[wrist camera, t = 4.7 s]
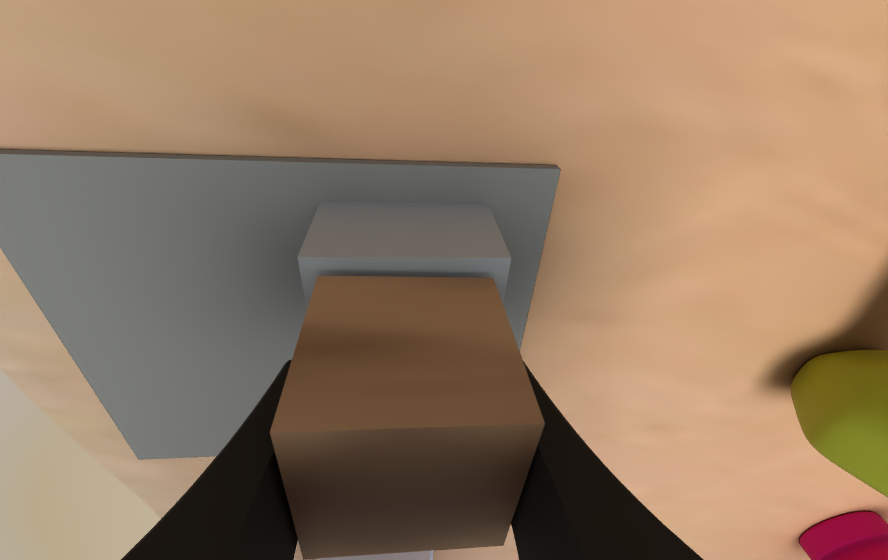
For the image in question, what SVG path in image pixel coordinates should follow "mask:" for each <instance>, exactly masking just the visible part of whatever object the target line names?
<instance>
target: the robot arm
mask: <svg viewBox="0 0 888 560" xmlns="http://www.w3.org/2000/svg"><path fill="white" fill-rule="evenodd" d="M291 361H292V360H288V361H287V362H286V363H285V364H284V366H283V367H282V369H281V370H280V372H279V373H278V375H277V376H276V378H275V379H274V381H273V382H272V384H271V385H270V387H269V388H268V390H267V391H266V392H265V394H264V395H263V397H262V398H261V399H260V401H259V402H258V404H257V405H256V406H255V408H254V409H253V411H252V412H251V413H250V415H249V416H248V417H247V418H246V420H245V421H244V422H243V424H242V425H241V426H240V428H239V429H238V430H237V432H236V433H235V434H234V436H233V437H232V438H231V439H230V441H229V442H228V443H227V444H226V446H225V447H224V448H223V449H222V451H221V452H220V453H219V454H218V455H217V457H216V458H215V459H214V460H213V461H212V463H211V464H210V465H209V466H208V467H207V469H206V470H205V471H204V472H203V473H202V475H201V476H200V477H199V478H198V479H197V480H196V482H195V483H194V484H193V485H192V486H191V487H190V488H189V489H188V491H187V492H186V493H185V494H184V495H183V496H182V497H181V498H180V499H179V501H178V502H177V503H176V504H175V505H174V506H173V507H172V508H171V509H170V510H169V511H168V512H167V513H166V514H165V516H164V517H163V518H162V519H161V520H160V521H159V522H158V523H157V524H156V525H155V526H154V527H153V528H152V529H151V530H150V531H149V532H148V533H147V534H146V535H145V536H144V537H143V538H142V539H141V540H140V541H139V542H138V543H137V544H136V545H135V546H134V547H133V548H132V549H131V550H130V551H129V552H128V553H127V554H126V555H125V556H124V557H123V558H122V559H121V560H293V559H294V554H295V549H296V545H297V541H298V537H297V533H296V530H295V526H294V522H293V518H292V515H291V511H290V507H289V503H288V500H287V496H286V492H285V488H284V484H283V481H282V477H281V473H280V469H279V466H278V462H277V458H276V454H275V451H274V447H273V443H272V439H271V435H270V430H271V427H272V424H273V420H274V417H275V414H276V411H277V407H278V404H279V401H280V397H281V394H282V391H283V387H284V384H285V381H286V378H287V374H288V371H289V368H290V364H291ZM523 363H524V361H523ZM524 366H525V368H526V371H527V374H528V377H529V380H530V383H531V385H532V388H533V391H534V394H535V397H536V400H537V403H538V405H539V408H540V411H541V414H542V417H543V420H544V422H545V425H544V428H543V431H542V434H541V437H540V439H539V442H538V445H537V448H536V451H535V454H534V457H533V460H532V463H531V466H530V469H529V472H528V475H527V478H526V480H525V483H524V486H523V489H522V492H521V495H520V498H519V501H518V504H517V507H516V510H515V513H514V516H513V518H512V521H511V525H512V529H513V533H514V537H515V542H516V546H517V551H518V556H519V560H703V559H702V558H701V557H700V556H699V555H698V554H697V553H695V552H694V551H693V550H692V549H691V548H690V547H689V546H687V545H686V544H685V543H684V542H683V541H682V540H681V539H680V538H678V537H677V536H676V535H675V534H674V533H673V532H672V531H670V530H669V529H668V528H667V527H666V526H665V525H664V524H663V523H662V522H661V521H660V520H659V519H657V518H656V517H655V516H654V515H653V514H652V513H651V512H650V511H649V510H648V509H647V508H646V507H645V506H644V505H643V504H642V503H641V502H640V501H639V500H638V499H637V498H636V497H635V496H634V495H633V494H632V493H631V492H630V491H629V490H628V489H627V488H626V487H625V486H624V485H623V484H622V483H621V482H620V481H619V480H618V479H617V478H616V477H615V476H614V475H613V473H612V472H611V471H610V470H609V469H608V468H607V467H606V466H605V465H604V464H603V463H602V461H601V460H600V459H599V458H598V457H597V456H596V455H595V453H594V452H593V451H592V450H591V449H590V448H589V447H588V445H587V444H586V443H585V442H584V441H583V440H582V438H581V437H580V436H579V435H578V434H577V432H576V431H575V430H574V429H573V427H572V426H571V425H570V424H569V422H568V421H567V420H566V419H565V417H564V416H563V415H562V414H561V412H560V411H559V410H558V409H557V407H556V406H555V405H554V403H553V402H552V401H551V399H550V398H549V397H548V395H547V394H546V393H545V391H544V390H543V388H542V387H541V386H540V384H539V383H538V381H537V380H536V379H535V377H534V376H533V374H532V373H531V372H530V370H529V369H528V367H527V366H526V364H525V363H524ZM433 553H434V550H432V551H418V552H404V553H389V554H375V555H361V556H347V557H332V558H318V559H316V560H433Z"/></svg>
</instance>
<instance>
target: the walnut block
mask: <svg viewBox="0 0 888 560" xmlns="http://www.w3.org/2000/svg"><path fill="white" fill-rule="evenodd" d="M544 425H545V422H544V420H543V417H542V414H541V411H540V408H539V405H538V403H537V400H536V397H535V394H534V391H533V388H532V385H531V383H530V380H529V377H528V374H527V371H526V368H525V366H524V363H523V360H522V357H521V354H520V351H519V349H518V346H517V343H516V340H515V337H514V334H513V332H512V329H511V326H510V323H509V320H508V317H507V315H506V312H505V309H504V306H503V303H502V300H501V298H500V295H499V292H498V289H497V286H496V283H495V281H494V278H473V277H390V276H317V279H316V282H315V285H314V289H313V292H312V295H311V298H310V302H309V305H308V308H307V312H306V315H305V318H304V322H303V325H302V328H301V331H300V335H299V338H298V341H297V345H296V348H295V351H294V354H293V358H292V361H291V364H290V368H289V371H288V374H287V378H286V381H285V384H284V387H283V391H282V394H281V397H280V401H279V404H278V407H277V411H276V414H275V417H274V420H273V424H272V427H271V430H270V435H271V439H272V443H273V447H274V451H275V454H276V458H277V462H278V466H279V469H280V473H281V477H282V481H283V484H284V488H285V492H286V496H287V500H288V503H289V507H290V511H291V515H292V518H293V522H294V526H295V530H296V533H297V537H298V541H299V545H300V549H301V552H302V556H303V560H304V559H318V558H332V557H347V556H361V555H375V554H389V553H404V552H418V551H432V550H446V549H460V548H475V547H489V546H503V545H504V542H505V539H506V536H507V533H508V530H509V527H510V524H511V521H512V518H513V516H514V513H515V510H516V507H517V504H518V501H519V498H520V495H521V492H522V489H523V486H524V483H525V480H526V478H527V475H528V472H529V469H530V466H531V463H532V460H533V457H534V454H535V451H536V448H537V445H538V442H539V439H540V437H541V434H542V431H543V428H544Z"/></svg>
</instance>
